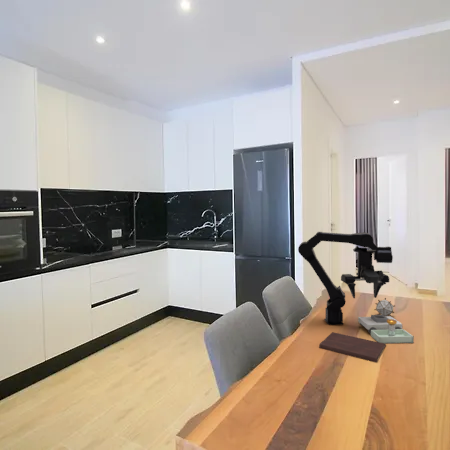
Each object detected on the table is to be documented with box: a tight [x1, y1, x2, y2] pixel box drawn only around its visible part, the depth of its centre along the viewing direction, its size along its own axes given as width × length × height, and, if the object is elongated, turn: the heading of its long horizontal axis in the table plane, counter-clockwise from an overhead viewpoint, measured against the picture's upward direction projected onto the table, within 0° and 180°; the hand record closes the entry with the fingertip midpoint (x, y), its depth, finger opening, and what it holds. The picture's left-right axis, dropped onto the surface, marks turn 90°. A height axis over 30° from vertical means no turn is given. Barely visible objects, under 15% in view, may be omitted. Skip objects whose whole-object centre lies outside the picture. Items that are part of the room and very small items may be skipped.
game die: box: [373, 297, 396, 317], centre depth 151 cm, size 9×8×10 cm
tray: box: [370, 328, 415, 344], centre depth 126 cm, size 13×7×2 cm, turn 91°
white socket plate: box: [357, 314, 403, 335], centre depth 135 cm, size 14×10×6 cm
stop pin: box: [387, 319, 398, 336], centre depth 126 cm, size 3×3×7 cm
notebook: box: [318, 331, 387, 363], centre depth 120 cm, size 15×20×2 cm
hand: (364, 297), depth 140 cm, fingers open, 9 cm apart
